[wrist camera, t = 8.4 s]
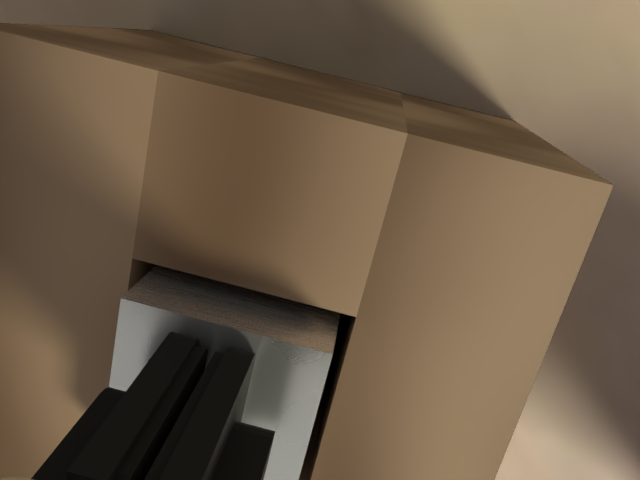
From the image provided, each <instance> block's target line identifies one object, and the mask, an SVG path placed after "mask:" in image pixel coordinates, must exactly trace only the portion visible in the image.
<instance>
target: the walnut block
mask: <svg viewBox="0 0 640 480" xmlns="http://www.w3.org/2000/svg"><path fill="white" fill-rule="evenodd" d="M613 186H614V185H612V184H611V183H609V182H608V181H606V180H605V179H603V178H602V177H600V176H599V175H597V174H595V173H594V172H592V171H591V170H589V169H588V168H586V167H585V166H583V165H582V164H580V163H578V162H577V161H575V160H574V159H572V158H571V157H569V156H568V155H566V154H565V153H563V152H562V151H560V150H558V149H557V148H555V147H554V146H552V145H551V144H549V143H548V142H546V141H545V140H543V139H542V138H540V137H538V136H537V135H535V134H534V133H532V132H531V131H529V130H528V129H526V128H525V127H523V126H522V125H520V124H518V123H517V122H515V121H512V120H508V119H504V118H500V117H496V116H492V115H488V114H484V113H480V112H476V111H472V110H468V109H464V108H460V107H456V106H452V105H448V104H444V103H440V102H436V101H432V100H428V99H424V98H420V97H416V96H412V95H408V94H404V93H400V92H396V91H392V90H388V89H384V88H380V87H376V86H372V85H368V84H364V83H360V82H356V81H352V80H348V79H344V78H340V77H336V76H332V75H328V74H324V73H320V72H316V71H312V70H308V69H303V68H299V67H295V66H291V65H287V64H283V63H279V62H275V61H271V60H267V59H263V58H259V57H255V56H251V55H247V54H243V53H239V52H235V51H231V50H227V49H223V48H219V47H215V46H211V45H207V44H203V43H199V42H195V41H191V40H187V39H183V38H179V37H175V36H171V35H167V34H163V33H159V32H155V31H151V30H138V29H116V28H94V27H72V26H50V25H28V24H7V23H0V479H1V478H7V477H24V478H29V479H31V478H32V477H33V476H34V474H35V473H36V472H37V471H38V469H39V468H40V467H41V466H42V465H43V463H44V462H45V461H46V460H47V458H48V457H49V456H50V455H51V453H52V452H53V451H54V450H55V448H56V447H57V446H58V445H59V443H60V442H61V441H62V440H63V439H64V437H65V436H66V435H67V434H68V432H69V431H70V430H71V429H72V427H73V426H74V425H75V424H76V422H77V421H78V420H79V419H80V418H81V416H82V415H83V414H84V413H85V411H86V410H87V409H88V408H89V406H90V405H91V404H92V403H93V401H94V400H95V399H96V398H97V396H98V395H99V394H100V393H101V392H102V391H103V390H104V389H105V388H108V387H109V382H110V375H111V367H112V360H113V353H114V345H115V338H116V330H117V323H118V315H119V308H120V301H121V298H122V297H123V296H124V295H125V294H126V293H127V292H128V291H129V290H130V289H131V288H132V287H133V286H134V285H135V284H136V283H137V282H139V281H140V280H141V279H142V278H143V277H144V276H145V275H146V274H147V273H148V272H149V271H150V270H151V269H152V268H153V267H154V266H155V265H159V266H163V267H167V268H171V269H175V270H179V271H182V272H186V273H190V274H194V275H198V276H201V277H205V278H209V279H213V280H217V281H221V282H224V283H228V284H232V285H236V286H240V287H243V288H247V289H251V290H255V291H259V292H262V293H266V294H270V295H274V296H278V297H282V298H285V299H289V300H293V301H297V302H301V303H304V304H308V305H312V306H316V307H320V308H324V309H327V310H331V311H335V312H339V313H341V315H340V319H339V324H338V329H337V334H336V340H335V345H334V350H333V355H332V359H331V363H330V366H329V370H328V374H327V377H326V381H325V385H324V388H323V392H322V396H321V399H320V403H319V407H318V410H317V414H316V418H315V421H314V425H313V429H312V432H311V436H310V440H309V443H308V447H307V451H306V454H305V458H304V462H303V465H302V469H301V473H300V476H299V480H494V479H495V477H496V474H497V472H498V469H499V467H500V465H501V462H502V460H503V457H504V455H505V452H506V450H507V447H508V445H509V442H510V440H511V437H512V435H513V433H514V430H515V428H516V425H517V423H518V420H519V418H520V415H521V413H522V410H523V408H524V405H525V403H526V400H527V398H528V396H529V393H530V391H531V388H532V386H533V383H534V381H535V378H536V376H537V373H538V371H539V368H540V366H541V363H542V361H543V359H544V356H545V354H546V351H547V349H548V346H549V344H550V341H551V339H552V336H553V334H554V331H555V329H556V327H557V324H558V322H559V319H560V317H561V314H562V312H563V309H564V307H565V304H566V302H567V299H568V297H569V294H570V292H571V290H572V287H573V285H574V282H575V280H576V277H577V275H578V272H579V270H580V267H581V265H582V262H583V260H584V257H585V255H586V253H587V250H588V248H589V245H590V243H591V240H592V238H593V235H594V233H595V230H596V228H597V225H598V223H599V221H600V218H601V216H602V213H603V211H604V208H605V206H606V203H607V201H608V198H609V196H610V193H611V191H612V188H613Z"/></svg>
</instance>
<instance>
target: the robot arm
mask: <svg viewBox="0 0 640 480" xmlns="http://www.w3.org/2000/svg"><path fill="white" fill-rule="evenodd" d="M207 353H208V350H207V349H206V348H202V347H199V339H198V338H194V337H190V336H187V335H183V334H179V333H175V332H170V333H169V334H168V335H167V337H166V338H165V339H164V341H163V342H162V343H161V345H160V346H159V347H158V349H157V350H156V352H155V353H154V354H153V356H152V357H151V358H150V360H149V361H148V362H147V364H146V365H145V366H144V368H143V369H142V370H141V372H140V373H139V374H138V376H137V377H136V379H135V380H134V381H133V383H132V384H131V385H130V387H129V388H128V389H127V391H122V390H118V389H114V388H110V387H108V388H105V389H104V390H103V391H102V392H101V393H100V394H99V395H98V396H97V398H96V399H95V400H94V401H93V403H92V404H91V405H90V406H89V408H88V409H87V410H86V411H85V413H84V414H83V415H82V416H81V418H80V419H79V420H78V421H77V422H76V424H75V425H74V426H73V427H72V429H71V430H70V431H69V432H68V434H67V435H66V436H65V437H64V439H63V440H62V441H61V442H60V443H59V445H58V446H57V447H56V448H55V450H54V451H53V452H52V453H51V455H50V456H49V457H48V458H47V460H46V461H45V462H44V463H43V465H42V466H41V467H40V468H39V469H38V471H37V472H36V473H35V474H34V476H33V477H32V478H31V479H29V478H24V477H7V478H1V479H0V480H264V476H265V472H266V468H267V464H268V460H269V456H270V452H271V448H272V444H273V440H274V435H275V431H272V430H268V429H265V428H261V427H257V426H253V425H250V424H246V423H242V422H241V421H242V417H243V412H244V408H245V403H246V399H247V394H248V390H249V385H250V381H251V377H252V372H253V368H254V363H255V358H256V354H255V353H251V352H248V351H244V350H240V349H236V348H232V347H228V348H227V349H226V351H225V353H221V352H218V351H215V352H214V354H213V356H212V358H211V360H210V361H209V363H208V365H207V367H206V369H205V364H206V359H207Z"/></svg>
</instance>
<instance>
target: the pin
mask: <svg viewBox="0 0 640 480" xmlns="http://www.w3.org/2000/svg"><path fill="white" fill-rule="evenodd" d="M339 318H340V313H339V312H335V311H331V310H327V309H324V308H320V307H316V306H312V305H308V304H304V303H301V302H297V301H293V300H289V299H285V298H282V297H278V296H274V295H270V294H266V293H262V292H259V291H255V290H251V289H247V288H243V287H240V286H236V285H232V284H228V283H224V282H221V281H217V280H213V279H209V278H205V277H201V276H198V275H194V274H190V273H186V272H182V271H179V270H175V269H171V268H167V267H163V266H159V265H155V266H154V267H153V268H152V269H151V270H150V271H149V272H148V273H147V274H146V275H145V276H144V277H143V278H142V279H141V280H140V281H139V282H137V283H136V284H135V285H134V286H133V287H132V288H131V289H130V290H129V291H128V292H127V293H126V294H125V295H124V296H123V297H122V298H121V301H120V308H119V315H118V323H117V330H116V338H115V345H114V353H113V360H112V367H111V375H110V382H109V387H110V388H114V389H118V390H122V391H127V389H128V388H129V387H130V385H131V384H132V383H133V381H134V380H135V379H136V377H137V376H138V374H139V373H140V372H141V370H142V369H143V368H144V366H145V365H146V364H147V362H148V361H149V360H150V358H151V357H152V356H153V354H154V353H155V352H156V350H157V349H158V347H159V346H160V345H161V343H162V342H163V341H164V339H165V338H166V337H167V335H168V334H169V333H170V332H175V333H179V334H183V335H187V336H190V337H194V338H198V339H199V347H202V348H206V349H207V350H208V353H207V359H206V364H205V369H206V367H207V365H208V363H209V361H210V360H211V358H212V356H213V354H214V352H215V351H218V352H221V353H225V351H226V349H227V348H228V347H232V348H236V349H240V350H244V351H248V352H251V353H255V354H256V358H255V363H254V368H253V372H252V377H251V381H250V385H249V390H248V394H247V399H246V403H245V408H244V412H243V417H242V421H241V422H242V423H246V424H250V425H253V426H257V427H261V428H265V429H268V430H272V431H275V435H274V440H273V444H272V448H271V452H270V456H269V460H268V464H267V468H266V472H265V476H264V480H299V476H300V473H301V469H302V465H303V462H304V458H305V454H306V451H307V447H308V443H309V440H310V436H311V432H312V429H313V425H314V421H315V418H316V414H317V410H318V407H319V403H320V399H321V396H322V392H323V388H324V385H325V381H326V377H327V374H328V370H329V366H330V363H331V359H332V355H333V350H334V345H335V340H336V334H337V329H338V324H339Z"/></svg>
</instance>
